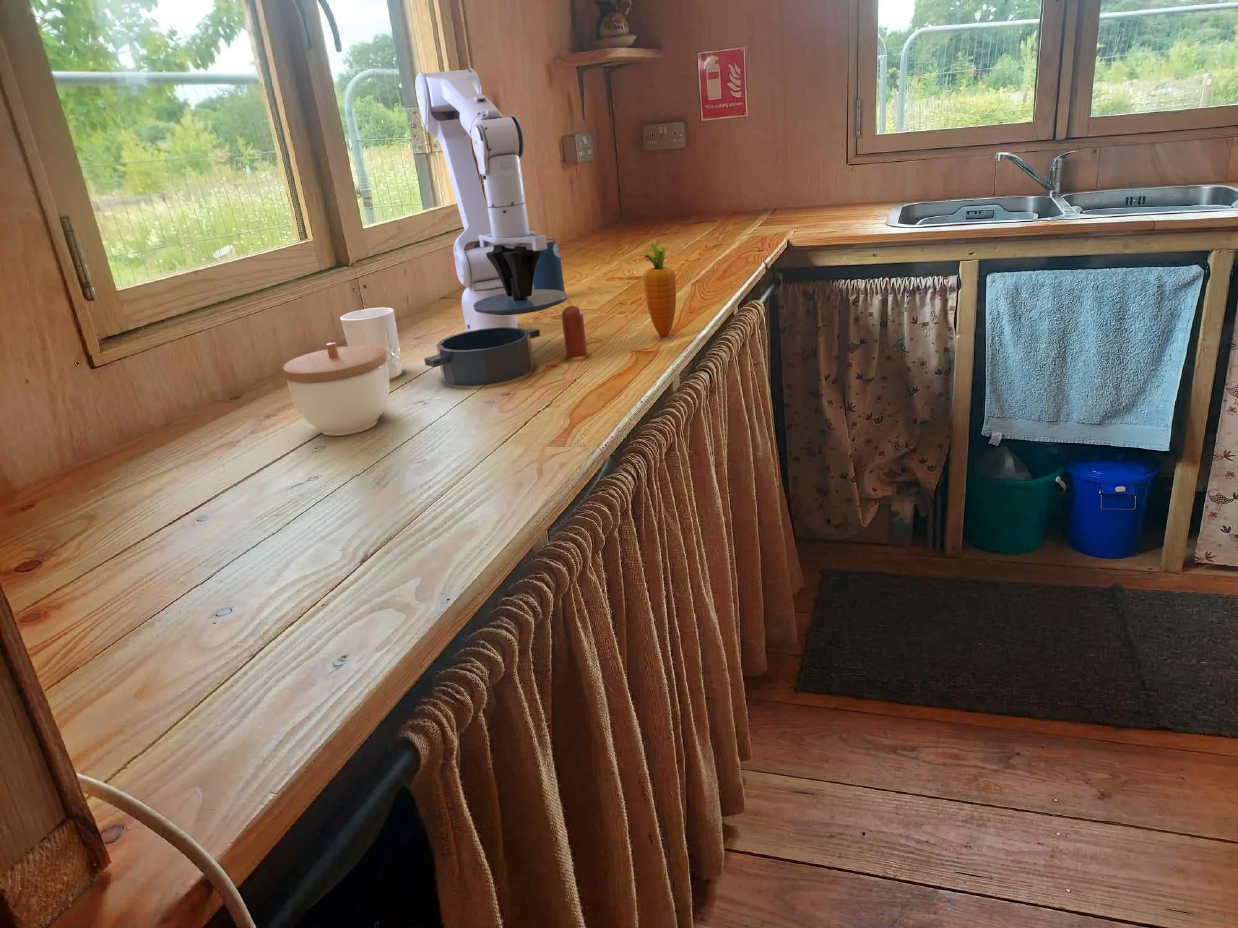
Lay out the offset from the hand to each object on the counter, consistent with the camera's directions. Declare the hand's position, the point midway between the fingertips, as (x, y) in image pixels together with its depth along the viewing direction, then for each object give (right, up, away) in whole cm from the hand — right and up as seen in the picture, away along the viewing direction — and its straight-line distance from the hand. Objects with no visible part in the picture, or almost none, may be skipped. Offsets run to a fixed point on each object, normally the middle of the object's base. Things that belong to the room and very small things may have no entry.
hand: (519, 296), depth 134 cm
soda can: (+1, +7, +42) cm, 43 cm away
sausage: (+9, -10, -1) cm, 13 cm away
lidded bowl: (-20, -21, -21) cm, 36 cm away
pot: (-4, -13, -5) cm, 14 cm away
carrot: (+23, -6, +4) cm, 24 cm away
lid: (0, -1, +1) cm, 1 cm away
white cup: (-21, -13, 0) cm, 25 cm away
